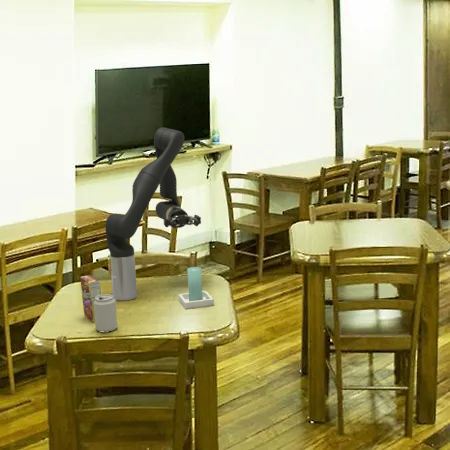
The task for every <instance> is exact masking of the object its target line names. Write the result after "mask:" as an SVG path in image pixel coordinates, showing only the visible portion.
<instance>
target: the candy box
mask: <svg viewBox="0 0 450 450" xmlns="http://www.w3.org/2000/svg"><path fill="white" fill-rule="evenodd" d="M79 277H80V289H81V297H82V298H81V299H82V307H83V316H84V317H85V318H86V317H87V319H88V320H89V319H90V320H89V321H90V322H92V321H93V322H95V314H94V301H95V297H96V296H98V295H102V292H101V291H102V290H101V281H100V280H99V279H98V278H95V277H94V276H92V275H90V274H88V275H84V276H79ZM93 322H92V323H93Z"/></svg>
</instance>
